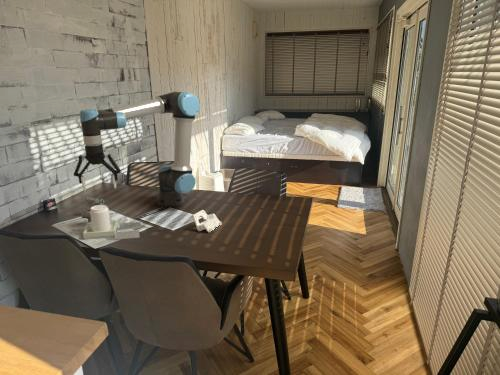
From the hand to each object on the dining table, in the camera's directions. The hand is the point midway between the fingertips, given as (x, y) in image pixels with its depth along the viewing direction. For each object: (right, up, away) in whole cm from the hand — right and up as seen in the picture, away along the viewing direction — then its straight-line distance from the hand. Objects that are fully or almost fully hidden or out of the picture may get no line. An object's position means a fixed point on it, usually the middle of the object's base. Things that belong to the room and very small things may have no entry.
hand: (100, 188), depth 164 cm
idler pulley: (-10, -19, +12) cm, 24 cm away
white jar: (-1, -21, +4) cm, 21 cm away
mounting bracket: (+50, -20, +10) cm, 55 cm away
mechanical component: (-12, -15, +23) cm, 30 cm away
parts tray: (-1, -21, +4) cm, 22 cm away
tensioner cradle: (+13, -21, +3) cm, 25 cm away
